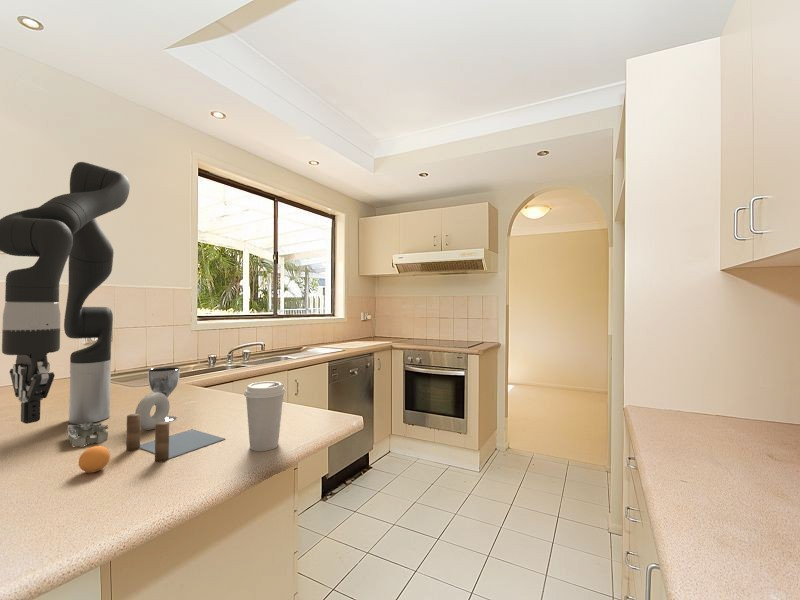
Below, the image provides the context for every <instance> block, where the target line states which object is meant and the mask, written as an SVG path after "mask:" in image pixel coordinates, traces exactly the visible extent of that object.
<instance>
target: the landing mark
mask: <svg viewBox="0 0 800 600" xmlns="http://www.w3.org/2000/svg"><path fill="white" fill-rule="evenodd" d="M224 440H226V438H224V437H220V436H219V435H218V436H217V435H215V434H210V433H206V432H204V431H200V430H197V429H194V428H192V429H188V430H185V431H182V432H179V433H174V434H171V435H169V459H168V460H170V458H171V459H173V458H175V457H178V456H182V455H185V454H188V453H191V452H193V451H197V450H199V449H201V448H205V447H208V446H210V445H213V444H216V443H218V442H222V441H224ZM139 449H141V450H144V451H146V452H149V453H151V454H154V455H155V439H154V440H151V441H147V442H145V443H140V448H139Z"/></svg>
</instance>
